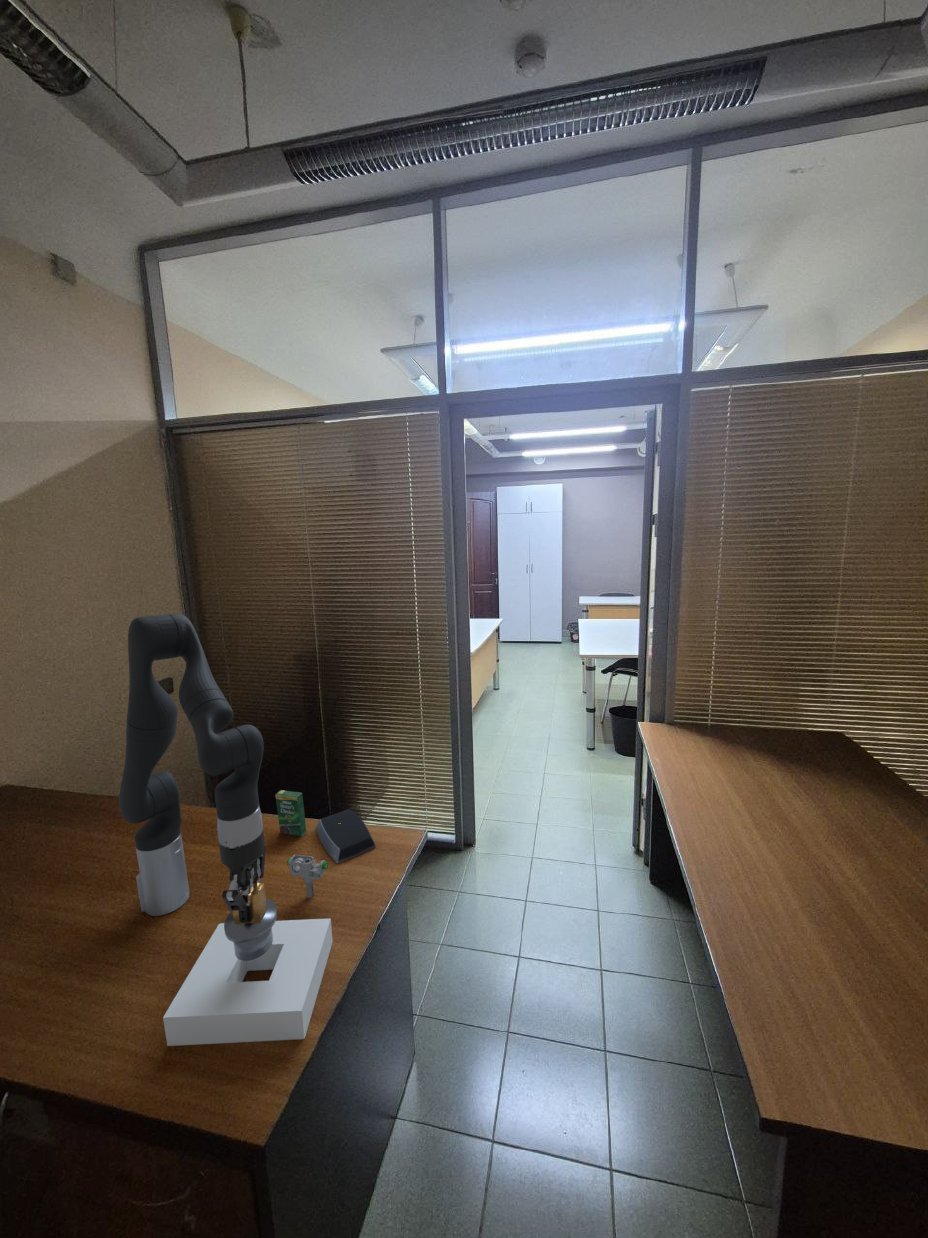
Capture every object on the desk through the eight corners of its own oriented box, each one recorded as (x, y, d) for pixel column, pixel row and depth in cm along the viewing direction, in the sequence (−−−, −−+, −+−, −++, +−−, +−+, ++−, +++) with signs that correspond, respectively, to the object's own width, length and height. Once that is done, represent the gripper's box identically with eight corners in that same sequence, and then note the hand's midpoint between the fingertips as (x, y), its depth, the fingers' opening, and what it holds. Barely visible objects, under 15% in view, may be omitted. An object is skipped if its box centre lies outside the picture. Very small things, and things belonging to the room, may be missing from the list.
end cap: (218, 968, 85) (210, 909, 83) (240, 926, 94) (234, 873, 92) (268, 965, 85) (262, 907, 83) (286, 924, 94) (280, 871, 92)
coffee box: (278, 833, 140) (274, 793, 138) (284, 827, 143) (280, 788, 141) (301, 837, 138) (297, 797, 136) (306, 832, 141) (303, 792, 138)
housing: (167, 1046, 81) (162, 1017, 80) (222, 947, 101) (219, 923, 100) (304, 1039, 82) (301, 1010, 81) (332, 942, 102) (330, 918, 101)
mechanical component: (326, 903, 113) (323, 866, 111) (288, 897, 115) (284, 861, 113) (332, 894, 116) (329, 858, 114) (295, 888, 118) (291, 853, 116)
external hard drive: (334, 866, 126) (333, 853, 125) (313, 830, 142) (312, 818, 141) (378, 848, 133) (377, 835, 133) (354, 816, 149) (353, 804, 148)
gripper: (237, 811, 92) (246, 887, 95) (200, 858, 79) (212, 946, 82) (275, 809, 93) (283, 885, 96) (245, 857, 79) (255, 944, 82)
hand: (250, 913), depth 89 cm, fingers closed on end cap, 3 cm apart
